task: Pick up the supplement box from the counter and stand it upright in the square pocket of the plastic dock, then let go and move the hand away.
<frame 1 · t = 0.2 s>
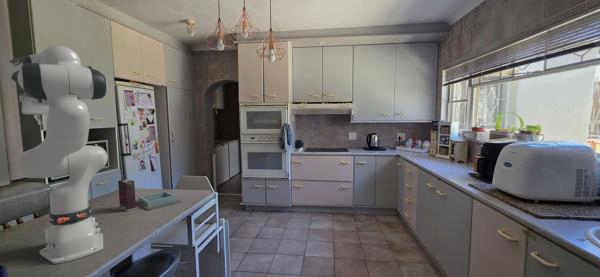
hand: (55, 124, 118), 48 cm above the table, tool pointing down, fingers open, 8 cm apart
supplement box: (128, 209, 142), on the table
dock: (157, 202, 153), on the table
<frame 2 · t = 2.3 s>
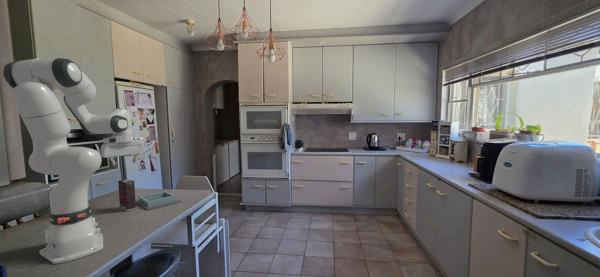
hand: (125, 163, 140), 25 cm above the table, tool pointing down, fingers open, 8 cm apart
nothing on the table moved.
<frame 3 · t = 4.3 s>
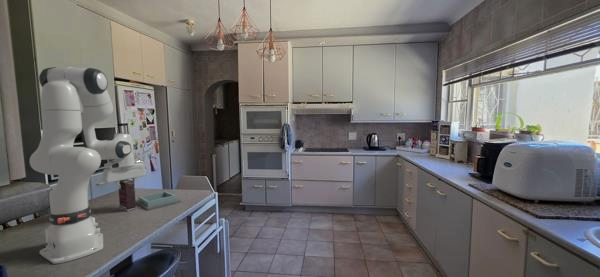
hand: (126, 187, 141), 12 cm above the table, tool pointing down, fingers closed on supplement box, 5 cm apart
supplement box: (128, 209, 142), on the table, touching gripper
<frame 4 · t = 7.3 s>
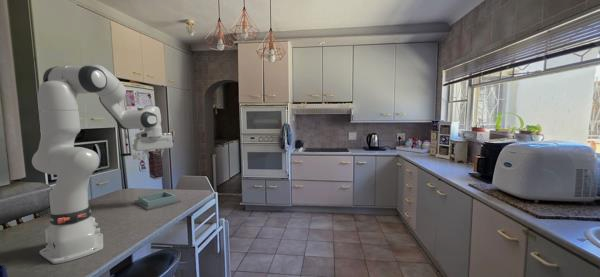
hand: (154, 157, 151), 27 cm above the table, tool pointing down, fingers closed on supplement box, 5 cm apart
supplement box: (156, 178, 152), point 15 cm above the table, touching gripper
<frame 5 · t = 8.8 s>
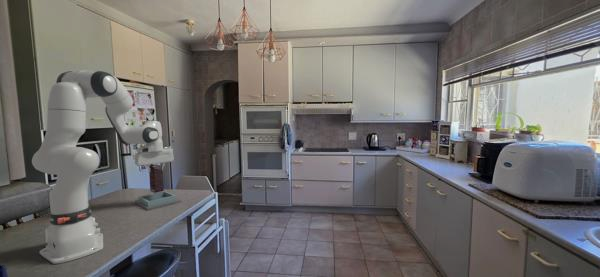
hand: (155, 171, 151), 19 cm above the table, tool pointing down, fingers closed on supplement box, 5 cm apart
supplement box: (157, 192, 152), point 6 cm above the table, touching gripper
when the fingers open (14 cm above the table, at t = 10.1 s): supplement box stays where it is, resting on dock.
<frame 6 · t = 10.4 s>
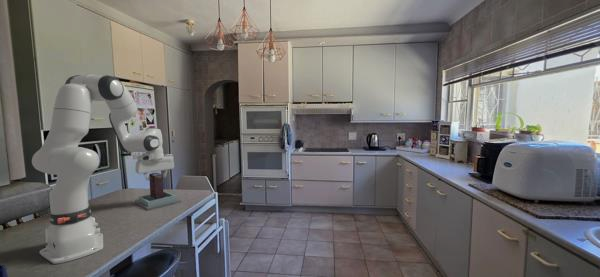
hand: (156, 178, 152), 14 cm above the table, tool pointing down, fingers open, 8 cm apart
supplement box: (157, 200, 152), point 1 cm above the table, touching dock
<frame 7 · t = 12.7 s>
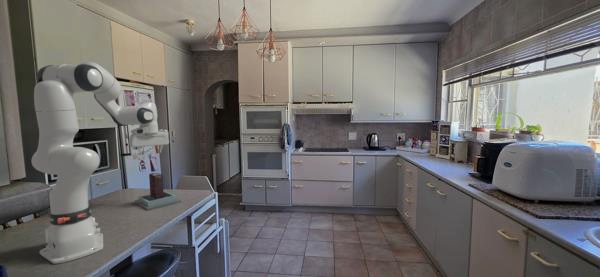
hand: (150, 153, 150), 29 cm above the table, tool pointing down, fingers open, 8 cm apart
nothing on the table moved.
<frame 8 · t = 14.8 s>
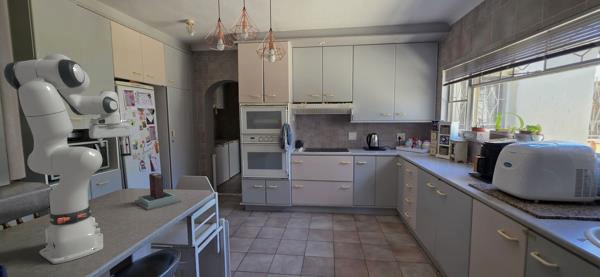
hand: (112, 145, 143), 35 cm above the table, tool pointing down, fingers open, 8 cm apart
nothing on the table moved.
at the end: supplement box 0.2 cm off-centre on the dock, point 1.0 cm above the dock's base; supplement box tilted 0°; the gripper is holding nothing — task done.
